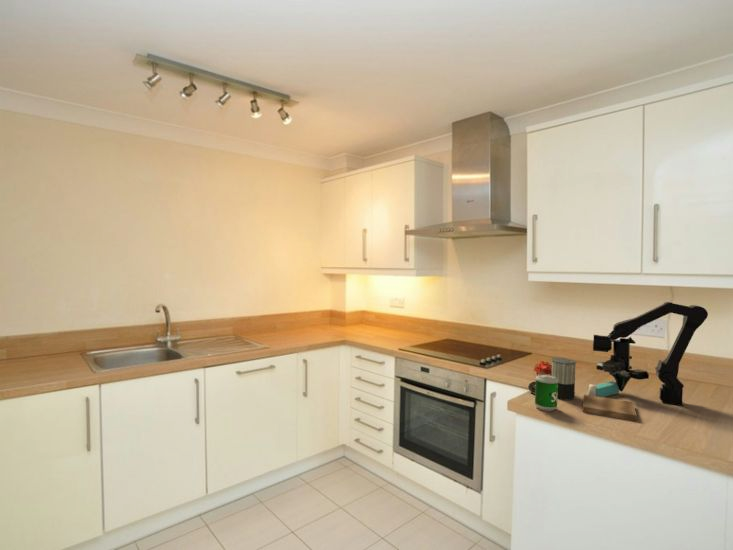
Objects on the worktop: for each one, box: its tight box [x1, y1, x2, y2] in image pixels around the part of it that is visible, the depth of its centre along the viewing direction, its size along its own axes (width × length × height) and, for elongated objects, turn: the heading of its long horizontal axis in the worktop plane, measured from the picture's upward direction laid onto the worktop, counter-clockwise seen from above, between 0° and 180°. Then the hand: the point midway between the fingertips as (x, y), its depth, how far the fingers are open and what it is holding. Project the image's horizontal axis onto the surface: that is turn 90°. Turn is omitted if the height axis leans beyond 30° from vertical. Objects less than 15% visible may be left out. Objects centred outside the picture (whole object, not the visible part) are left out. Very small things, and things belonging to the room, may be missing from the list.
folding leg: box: [588, 381, 620, 398], centre depth 162 cm, size 18×3×5 cm, turn 121°
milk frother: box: [527, 357, 577, 400], centre depth 162 cm, size 14×16×15 cm
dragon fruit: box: [533, 360, 552, 377], centre depth 187 cm, size 8×8×12 cm
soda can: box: [534, 374, 558, 412], centre depth 146 cm, size 8×8×12 cm
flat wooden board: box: [582, 394, 638, 422], centre depth 146 cm, size 16×16×2 cm
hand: (621, 391), depth 163 cm, fingers closed
